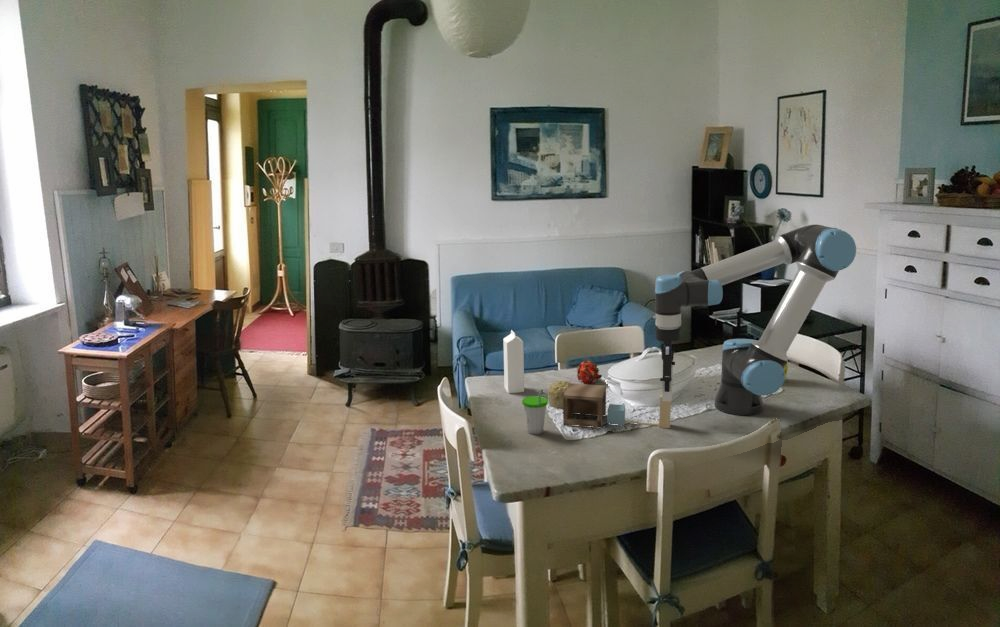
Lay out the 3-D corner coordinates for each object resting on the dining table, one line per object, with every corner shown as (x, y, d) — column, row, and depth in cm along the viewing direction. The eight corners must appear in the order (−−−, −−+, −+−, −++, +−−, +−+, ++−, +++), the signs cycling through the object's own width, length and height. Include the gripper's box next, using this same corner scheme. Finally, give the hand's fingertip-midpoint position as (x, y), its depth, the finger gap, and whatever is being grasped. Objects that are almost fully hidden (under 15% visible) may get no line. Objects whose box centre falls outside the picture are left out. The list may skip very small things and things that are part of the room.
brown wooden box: (605, 414, 227) (606, 385, 225) (601, 428, 216) (601, 397, 214) (569, 412, 230) (569, 383, 228) (563, 425, 219) (563, 395, 217)
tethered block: (670, 423, 219) (671, 393, 216) (669, 429, 214) (670, 398, 212) (609, 418, 224) (609, 389, 221) (607, 424, 219) (607, 394, 217)
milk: (520, 386, 256) (519, 328, 251) (524, 392, 250) (523, 332, 245) (504, 388, 254) (503, 330, 249) (507, 393, 249) (506, 334, 244)
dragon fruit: (585, 380, 266) (593, 394, 255) (568, 369, 263) (575, 384, 252) (599, 363, 264) (607, 377, 253) (581, 352, 261) (590, 366, 250)
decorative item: (562, 419, 234) (580, 397, 231) (539, 401, 234) (557, 379, 231) (565, 409, 243) (582, 388, 240) (543, 392, 243) (560, 371, 240)
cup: (522, 427, 219) (521, 381, 215) (547, 426, 218) (547, 381, 215) (522, 437, 211) (521, 390, 208) (548, 436, 211) (548, 389, 207)
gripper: (657, 316, 222) (657, 379, 227) (653, 337, 199) (653, 407, 204) (681, 316, 220) (680, 380, 225) (680, 337, 197) (679, 408, 202)
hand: (667, 393), depth 214 cm, fingers open, 13 cm apart
